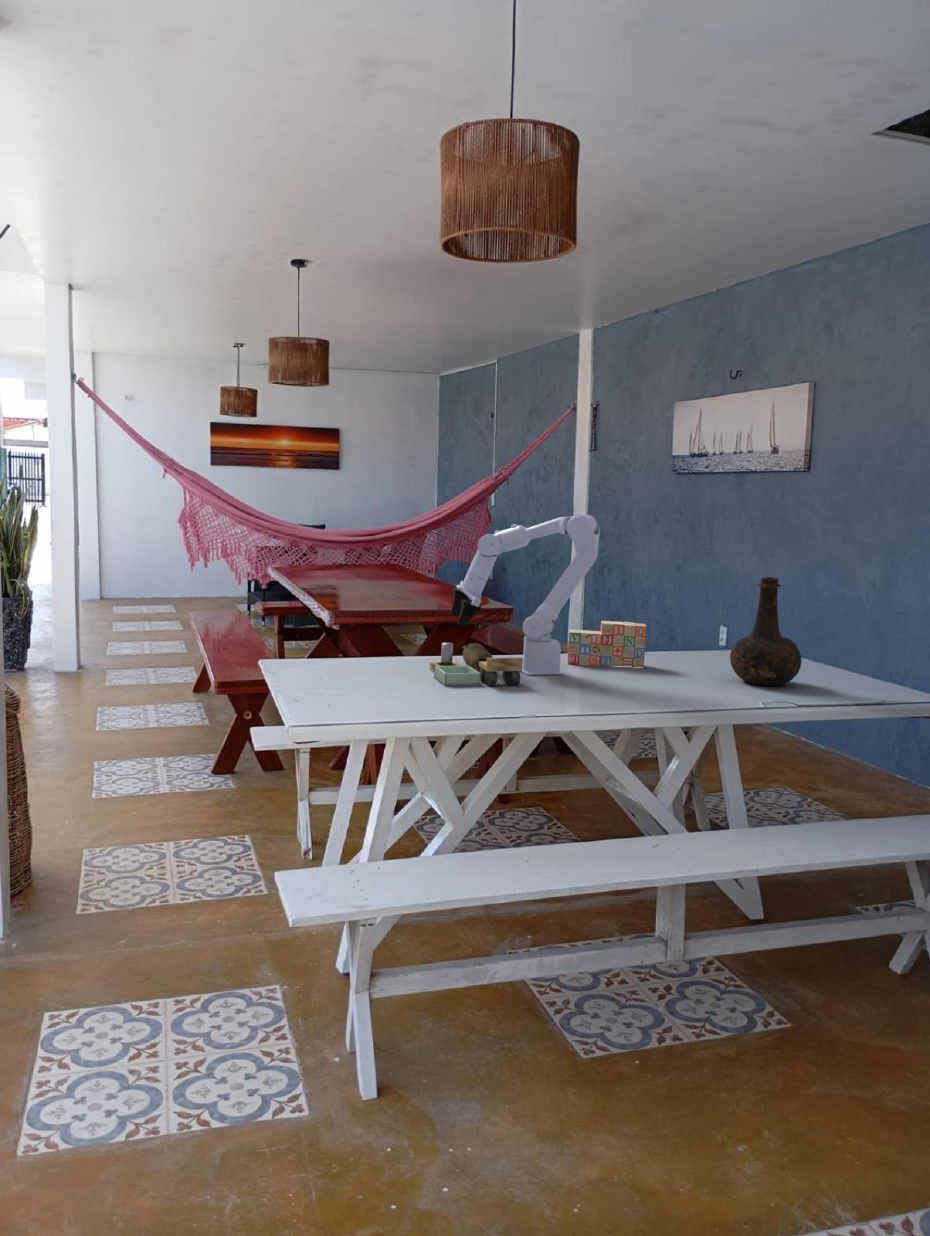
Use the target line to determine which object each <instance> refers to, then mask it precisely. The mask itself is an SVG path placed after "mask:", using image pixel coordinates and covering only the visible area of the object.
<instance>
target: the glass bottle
mask: <svg viewBox="0 0 930 1236" xmlns="http://www.w3.org/2000/svg"><path fill="white" fill-rule="evenodd" d="M757 587H759V588H760V589H759V596H758V597H759V598H758V604H757V611H756V617H755V620H754V621H755V622H754V624H753V628H752V631H751V633H750V634H749V635H748V636H745V637H743V638H741V639H739V640H738V641H737V642H736V643H734V645H733V646H732V648H731V650H730V652H729V662H730V666H731V668H732V669H733V672H734V673H735V674H736V675H737V676H738V677H739V679H741V680H742V681H744V682H745V683H748V684H753V685H756V684H757V685H758V686H764V685H765V686H767V687H775V686H777V685H778V686H782V685H785V684H787V683H789V682H791V681H792V680H793V679H795V677H796V676H797V675H798V673H799V672H800V670H801V667H802V656H801V652H800V650H799V649H798V646H797V644H796V643H795V642H793V640H791V639H790V638H788V637H783V636H782V633H781V631H780V625H779V619H778V615H779V614H778V593H779V592H778V588H781V587H782V585H781V584H779V578H777V577H772V576H771V577H770V576H769V577H768V576H766V577H761V578H760V583H758V584H757ZM778 686H777V687H778Z"/></svg>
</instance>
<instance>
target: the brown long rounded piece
mask: <svg viewBox="0 0 930 1236" xmlns="http://www.w3.org/2000/svg"><path fill="white" fill-rule="evenodd" d="M487 658H494V657H493V655H492V654H491V653H490V652H489V650H487V649H486V648H485V646H483V645H481V644H480V643H478V642H473V643H472V642H470V643H468V644H467V645H466V646H465V647H464V648H463V651H462V659H463V660H464V663H465V664H466V666H470V667H471V668H473V669H475V670H476V671H478V672H479V673H480V669H481V667H479V662H483V661H487Z"/></svg>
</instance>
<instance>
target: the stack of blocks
mask: <svg viewBox="0 0 930 1236" xmlns="http://www.w3.org/2000/svg"><path fill="white" fill-rule="evenodd" d="M600 623H601V624H600V631H598V630H588V629H587V630H586V629H569V630H568V638H567V639H568V640H567V661H566V662H567V665H579V666H589V667H590V666H591V667H605V666H632V667H644V668H645V655H646V653H645V652H646V646H647V628H648V627H647V625H646V624H645V623H639V622H633V621H612V620H611V621H610V620H601V621H600Z"/></svg>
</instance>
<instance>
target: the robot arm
mask: <svg viewBox="0 0 930 1236" xmlns="http://www.w3.org/2000/svg"><path fill="white" fill-rule="evenodd" d="M556 533H557V534H562V535H565V536H566V535H568V536H569V538H570V539H571V541H572V542H573V545H574V548H575V552H576V553H575V554H576V555H575V556H574V557H573V559H572V561H570V564H568V567H567V568H566V569H565V570H564V571H563V573H562V575H561V576H560V578H559V579H558V581H557V582H556V584H555V585H554V587H553V588H552V589H551V590H550V592H549V594H548V595H547V596H546V598H545V599H544V601H543V603H542V604H541V605H540V606H538V608H536V610H535V612H534V613H533V614H531V615H530V616H528V617H527V618H525V619H524V621H523V623H522V626H521V627H522V633H523V634H524V637H523V655H522V656H523V657H522V658H523V664H522V671H520V673H521V672H522V673H523V674H525V675H527V676H535V675H537V676H540V675H541V676H542V675H561V673H562V672H560V669H561V655H562V654H561V651H562V650H561V649H562V647H561V643H560V641H559V640H558V639H553V638H552V636H551V633H552V632H553V631H554V628H555V623H556V621H557V620H558V619H557V618H558V617H559V614H560V612H561V610H562V609H563V607H564V606H565V604H566V603H567V602H568V600H569V599H570V597H571V596H572V595H573V593H574V592H575V590H576V589H577V587H578V586H579V584H580V583H581V582H582V580H583V579H584V577H585V576H586V574H587V573H588V572H589V570H590V569H591V567H592V566H593V564H594V563H595V562H596V561H597V559H598V555H599V542H600V541H599V539H600V535H601V530H600V527H599V524H598V521H597V519H596V518H595V517H594V516H593V515H591V514H576V515H573V516H562V517H557V518H553V519H550V520H547V521H545V522H542V523H539V524H536V525H533V526H531V527H525V526H523V525H522V524H519V525H518V524H517V523H516V524H515V523H514V524H511V525H510V527H509V528H507V529H506V528H505V529H503V530H500V529H496V530H494V533H492V534H491V533H486V534H485V535H482V536H481V537H480V538H479V539H478V542H477V550H476V553H475V555H474V556H473V559H472V561H471V563H470V566H469V567H468V571H467V572H466V574H465V576H464V579H463V580H460V583H459V584H457V585H456V587H454V588H452V592H453V599H452V606H451V609H450V615H451V616H455V617H458V619H457V626H460V627H463V628H465V627H466V626H467V625H468V623H470V621H471V620H472V619H473V617H474V616H476V614H478V613H479V612H481V611H482V609H483V608H482V606H481V605H480V604H481V603H482V599H481V598H482V592H483V591H484V588H485V586H486V584H487V582H488V579H489V577H490V575H491V572H492V570H493V569H494V567H495V562H496V560H497V558H498V556H499V555H501V554H502V553H507V552H511V551H514V550H518V549H521V548H524V547H527V546H528V545H529V542H531V540H534V539H538V538H542V537H544V536H549V535H550V536H551V535H552V534H553V535H554V534H556Z"/></svg>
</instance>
